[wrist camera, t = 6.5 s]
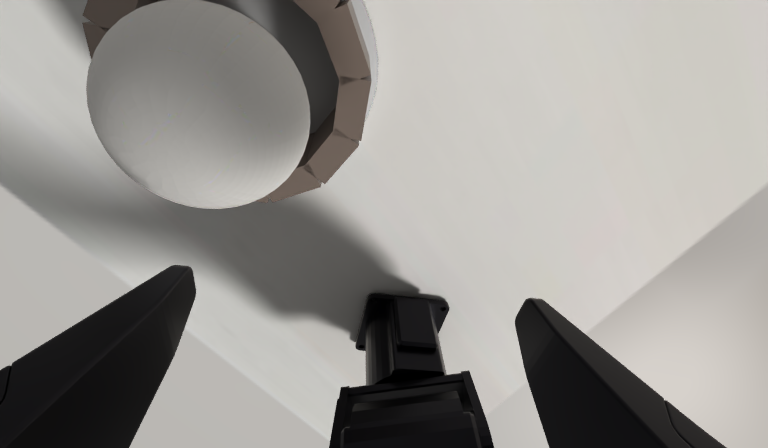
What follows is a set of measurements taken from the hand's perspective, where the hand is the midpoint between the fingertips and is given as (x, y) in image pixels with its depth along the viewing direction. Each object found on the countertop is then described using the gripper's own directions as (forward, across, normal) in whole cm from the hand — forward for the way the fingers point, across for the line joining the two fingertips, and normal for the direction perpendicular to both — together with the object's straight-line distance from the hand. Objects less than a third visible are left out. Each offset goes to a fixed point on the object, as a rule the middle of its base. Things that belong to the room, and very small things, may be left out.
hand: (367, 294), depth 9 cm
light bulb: (+12, +5, -3) cm, 13 cm away
